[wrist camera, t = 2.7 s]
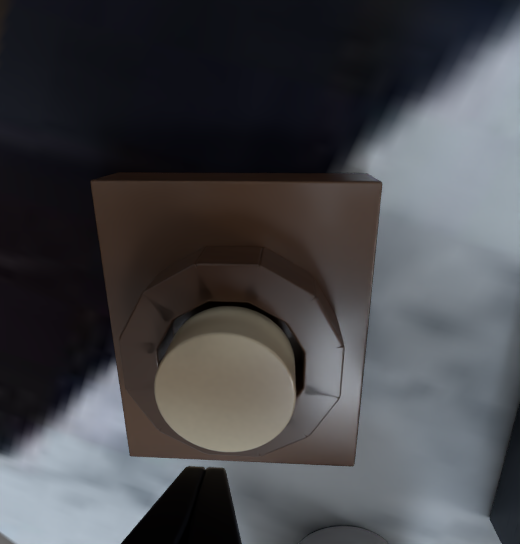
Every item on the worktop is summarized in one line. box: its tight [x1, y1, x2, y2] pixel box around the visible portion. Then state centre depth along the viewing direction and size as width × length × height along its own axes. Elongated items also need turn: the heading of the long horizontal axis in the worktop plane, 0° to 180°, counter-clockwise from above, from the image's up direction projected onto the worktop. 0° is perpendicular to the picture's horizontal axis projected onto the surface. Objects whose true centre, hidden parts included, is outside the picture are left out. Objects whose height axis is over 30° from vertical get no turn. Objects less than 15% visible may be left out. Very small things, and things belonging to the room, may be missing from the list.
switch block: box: [91, 173, 382, 466], centre depth 14 cm, size 11×9×4 cm
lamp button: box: [154, 306, 296, 452], centre depth 12 cm, size 4×4×2 cm
